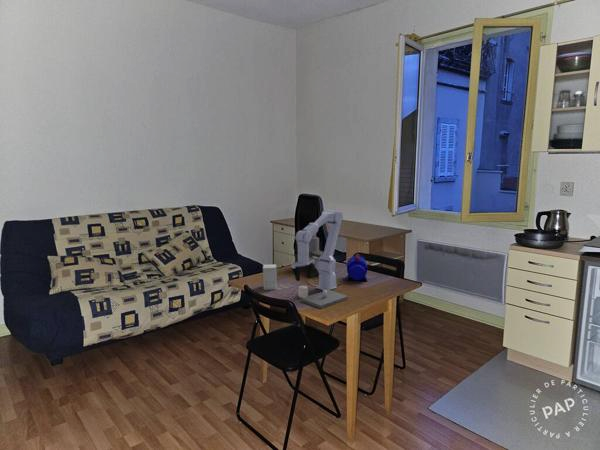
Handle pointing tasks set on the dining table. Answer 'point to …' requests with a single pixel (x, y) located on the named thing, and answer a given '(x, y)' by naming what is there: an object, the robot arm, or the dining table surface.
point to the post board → (324, 298)
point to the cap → (303, 291)
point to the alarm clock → (356, 268)
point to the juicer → (314, 253)
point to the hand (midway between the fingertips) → (303, 279)
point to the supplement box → (269, 277)
